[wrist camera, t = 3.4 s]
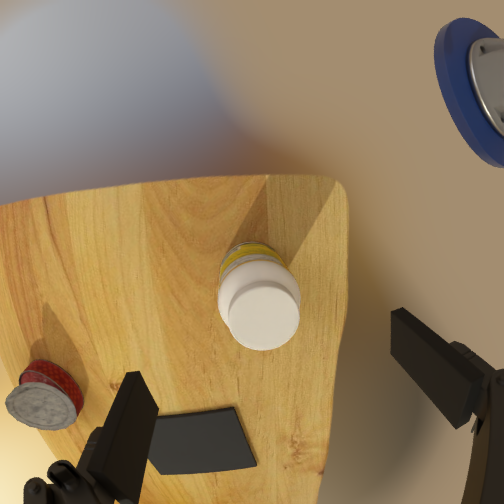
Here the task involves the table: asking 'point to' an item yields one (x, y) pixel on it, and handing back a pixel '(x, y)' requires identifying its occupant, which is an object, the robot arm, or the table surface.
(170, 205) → the table surface
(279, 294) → the pill bottle
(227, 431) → the mat
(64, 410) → the canned food
